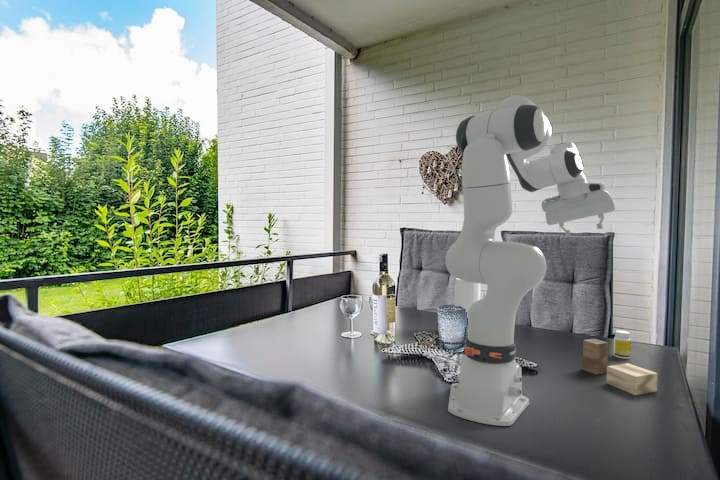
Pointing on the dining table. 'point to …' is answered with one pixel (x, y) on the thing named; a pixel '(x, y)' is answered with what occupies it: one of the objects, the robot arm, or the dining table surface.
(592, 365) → the walnut block
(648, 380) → the oak block
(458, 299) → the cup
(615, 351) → the supplement bottle
